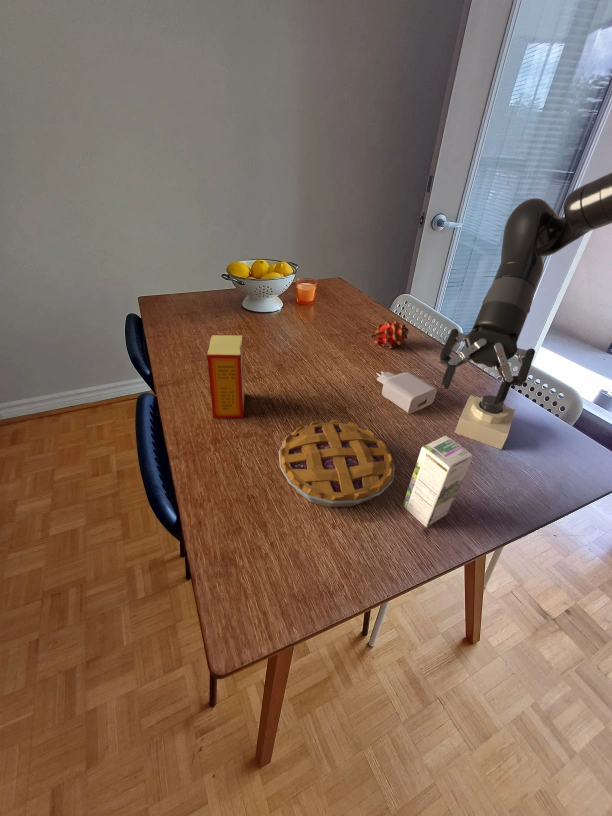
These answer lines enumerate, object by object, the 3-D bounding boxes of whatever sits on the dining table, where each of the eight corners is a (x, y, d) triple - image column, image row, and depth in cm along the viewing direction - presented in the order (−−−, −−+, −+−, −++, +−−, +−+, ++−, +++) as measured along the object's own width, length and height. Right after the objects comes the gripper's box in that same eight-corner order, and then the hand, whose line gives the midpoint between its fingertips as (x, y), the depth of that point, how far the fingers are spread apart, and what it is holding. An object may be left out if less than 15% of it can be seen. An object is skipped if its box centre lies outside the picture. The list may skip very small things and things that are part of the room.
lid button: (502, 407, 88) (505, 399, 87) (499, 416, 85) (502, 409, 84) (481, 400, 90) (484, 392, 89) (478, 409, 87) (480, 402, 85)
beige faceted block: (508, 423, 93) (518, 402, 89) (501, 449, 85) (511, 428, 81) (465, 409, 96) (472, 388, 93) (454, 432, 89) (462, 411, 85)
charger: (389, 375, 107) (433, 403, 98) (364, 385, 103) (407, 415, 93) (393, 360, 104) (438, 387, 95) (367, 369, 100) (411, 398, 90)
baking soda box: (217, 394, 95) (211, 332, 86) (244, 394, 96) (242, 333, 87) (213, 418, 88) (206, 353, 78) (243, 417, 88) (240, 354, 79)
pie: (267, 441, 82) (267, 422, 80) (364, 428, 88) (368, 409, 85) (294, 526, 66) (295, 506, 63) (412, 503, 71) (418, 483, 68)
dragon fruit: (407, 350, 124) (371, 357, 122) (399, 326, 126) (363, 332, 124) (417, 337, 116) (378, 345, 114) (408, 312, 118) (369, 319, 116)
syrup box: (423, 493, 73) (444, 432, 65) (449, 515, 69) (474, 454, 61) (401, 506, 70) (420, 444, 62) (427, 529, 67) (450, 467, 58)
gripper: (543, 330, 70) (510, 415, 68) (461, 310, 75) (429, 388, 74) (554, 311, 63) (518, 404, 61) (463, 290, 68) (428, 376, 67)
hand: (470, 395), depth 68 cm, fingers open, 8 cm apart
